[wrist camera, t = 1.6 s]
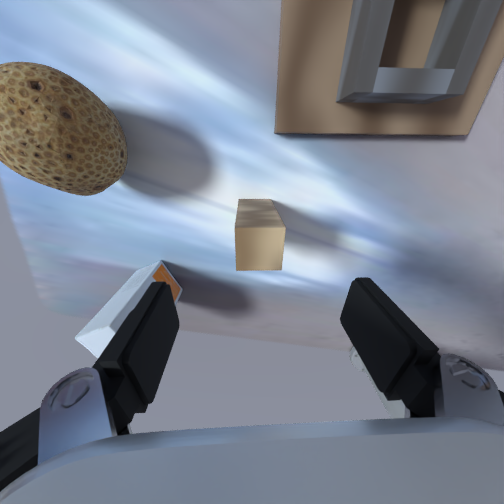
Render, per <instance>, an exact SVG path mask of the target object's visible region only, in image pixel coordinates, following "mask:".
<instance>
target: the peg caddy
mask: <svg viewBox="0 0 504 504" xmlns="http://www.w3.org/2000/svg"><path fill="white" fill-rule="evenodd" d="M503 57H504V0H282V4H281V23H280V41H279V59H278V77H277V95H276V114H275V132H274V133H279V134H353V135H428V136H459V135H468V133H469V131H470V129H471V127H472V124H473V122H474V120H475V118H476V116H477V114H478V111H479V109H480V107H481V105H482V103H483V101H484V98H485V96H486V94H487V92H488V90H489V88H490V85H491V83H492V81H493V79H494V77H495V75H496V72H497V70H498V68H499V66H500V64H501V62H502V59H503Z"/></svg>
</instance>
